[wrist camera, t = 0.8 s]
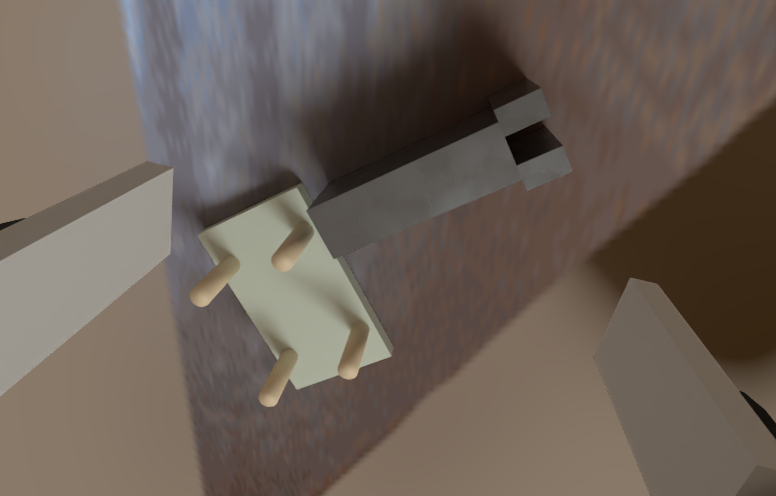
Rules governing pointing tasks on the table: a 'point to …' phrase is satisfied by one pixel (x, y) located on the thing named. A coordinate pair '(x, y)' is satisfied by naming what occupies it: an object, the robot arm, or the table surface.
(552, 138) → the long grey bar
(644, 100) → the table surface
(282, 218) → the peg rack
